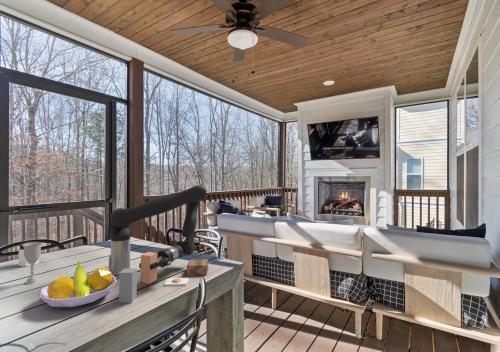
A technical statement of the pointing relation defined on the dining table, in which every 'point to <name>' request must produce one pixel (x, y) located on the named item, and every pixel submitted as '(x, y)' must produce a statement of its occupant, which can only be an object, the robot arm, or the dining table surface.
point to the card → (176, 282)
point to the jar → (21, 256)
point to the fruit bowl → (78, 288)
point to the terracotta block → (148, 267)
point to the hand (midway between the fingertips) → (145, 266)
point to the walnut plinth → (197, 267)
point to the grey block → (127, 285)
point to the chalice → (32, 258)
